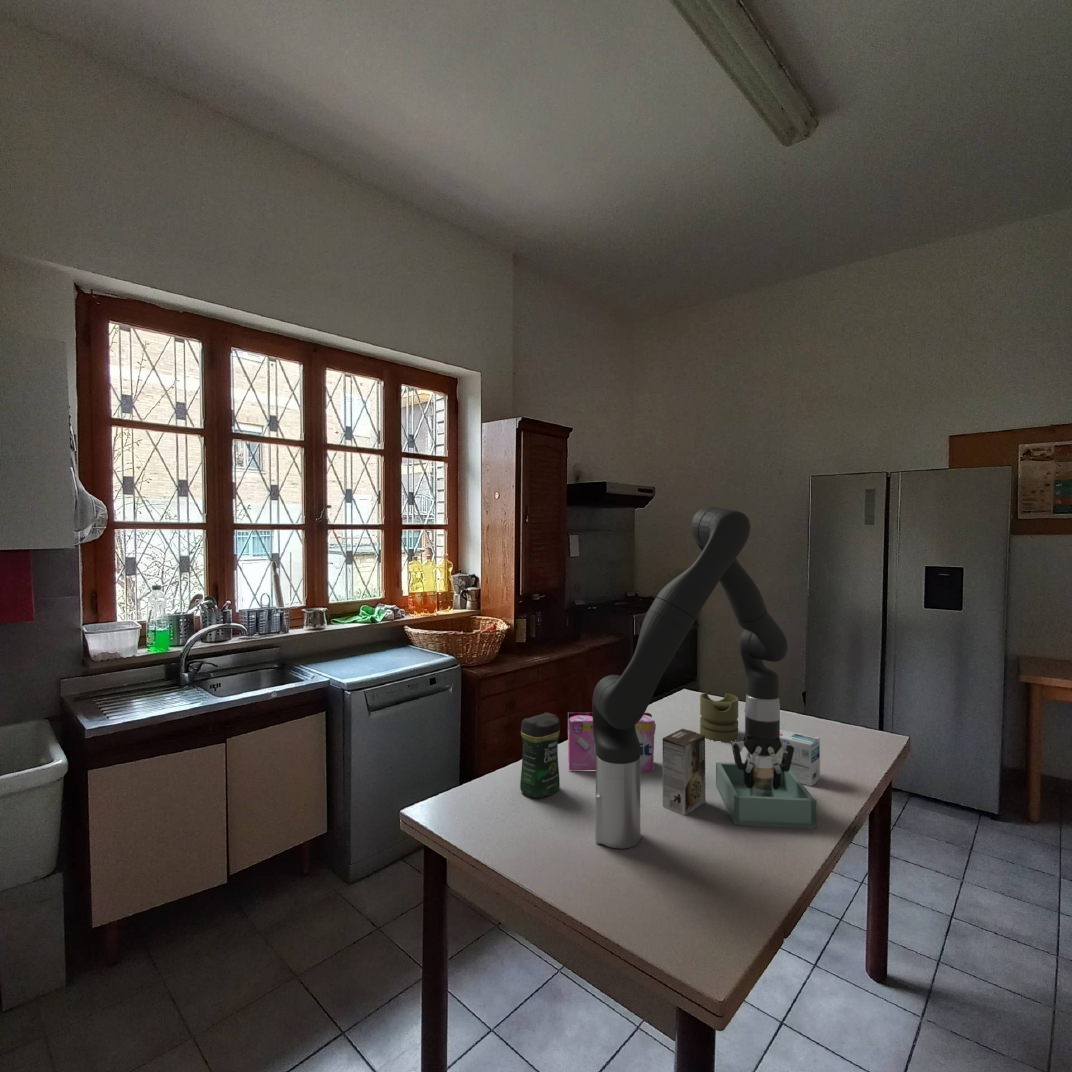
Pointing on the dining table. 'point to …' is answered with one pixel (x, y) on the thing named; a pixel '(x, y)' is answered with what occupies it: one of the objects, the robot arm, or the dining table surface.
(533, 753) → the coffee jar
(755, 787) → the shiny silver brown cylinder
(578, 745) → the gum box
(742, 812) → the green tray
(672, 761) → the coffee box
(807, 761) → the light bulb box
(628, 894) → the dining table surface
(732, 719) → the piston
